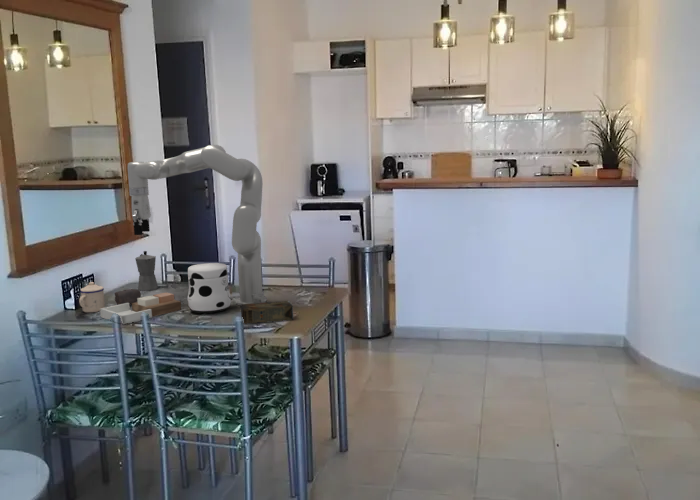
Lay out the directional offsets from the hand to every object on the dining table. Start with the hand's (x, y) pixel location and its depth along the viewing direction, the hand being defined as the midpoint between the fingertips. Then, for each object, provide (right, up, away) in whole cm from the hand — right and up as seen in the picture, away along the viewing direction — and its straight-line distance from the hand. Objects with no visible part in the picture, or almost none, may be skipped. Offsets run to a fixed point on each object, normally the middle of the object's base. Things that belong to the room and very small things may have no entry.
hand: (142, 233), depth 273 cm
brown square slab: (+8, -32, -6) cm, 33 cm away
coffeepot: (-9, -25, +36) cm, 45 cm away
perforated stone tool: (-7, -31, +5) cm, 32 cm away
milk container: (+30, -32, -8) cm, 44 cm away
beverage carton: (+55, -34, -24) cm, 69 cm away
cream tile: (+5, -29, -9) cm, 31 cm away
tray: (-1, -34, -16) cm, 37 cm away
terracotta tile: (+10, -28, -4) cm, 30 cm away
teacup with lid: (-20, -32, -3) cm, 38 cm away
